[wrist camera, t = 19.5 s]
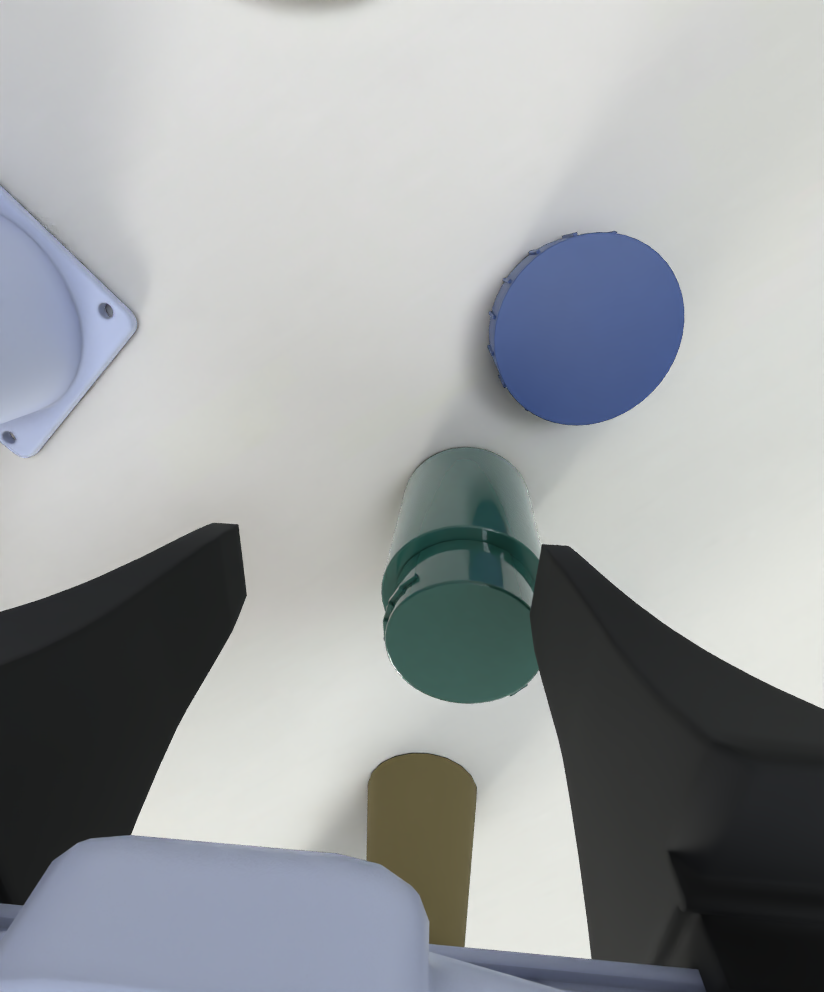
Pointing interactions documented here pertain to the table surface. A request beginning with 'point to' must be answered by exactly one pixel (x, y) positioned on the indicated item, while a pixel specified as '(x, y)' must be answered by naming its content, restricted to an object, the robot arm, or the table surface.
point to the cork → (426, 835)
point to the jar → (463, 579)
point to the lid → (586, 327)
